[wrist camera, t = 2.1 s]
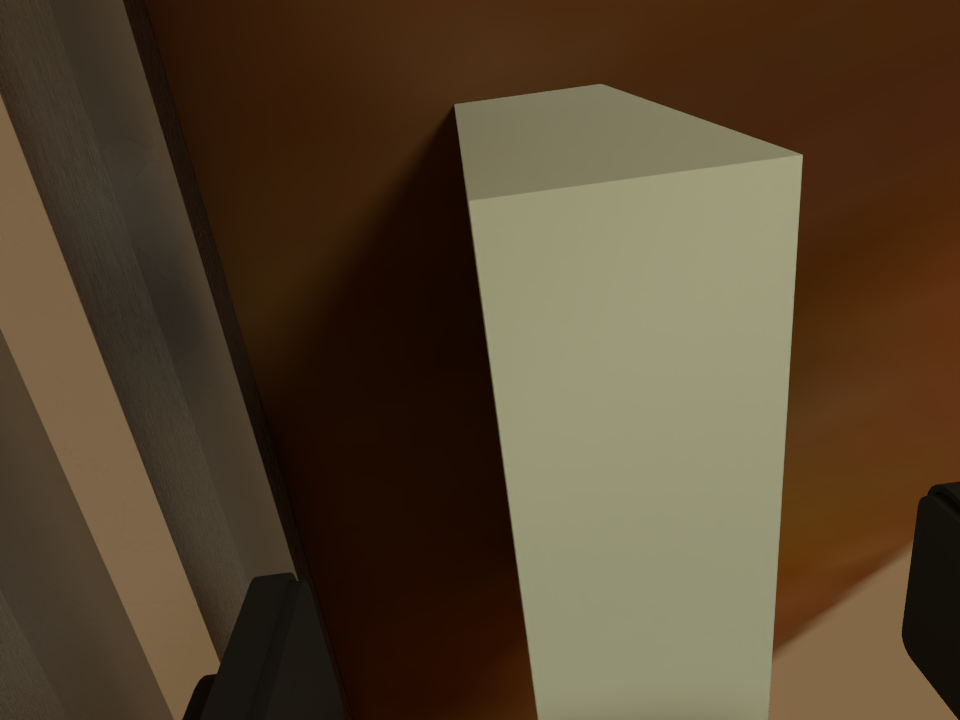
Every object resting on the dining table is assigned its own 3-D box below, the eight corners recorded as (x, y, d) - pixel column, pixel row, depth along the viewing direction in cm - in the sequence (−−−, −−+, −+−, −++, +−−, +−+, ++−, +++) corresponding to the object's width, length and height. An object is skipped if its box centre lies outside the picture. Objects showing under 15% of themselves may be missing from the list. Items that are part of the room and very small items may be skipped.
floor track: (-646, -378, 11) (-1092, -543, 8) (5, -474, 11) (-178, -684, 8) (75, 843, 24) (17, 971, 20) (378, 804, 23) (367, 926, 20)
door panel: (453, 104, 15) (468, 201, 6) (601, 83, 15) (803, 154, 6) (516, 564, 20) (568, 945, 11) (625, 549, 20) (755, 922, 11)
